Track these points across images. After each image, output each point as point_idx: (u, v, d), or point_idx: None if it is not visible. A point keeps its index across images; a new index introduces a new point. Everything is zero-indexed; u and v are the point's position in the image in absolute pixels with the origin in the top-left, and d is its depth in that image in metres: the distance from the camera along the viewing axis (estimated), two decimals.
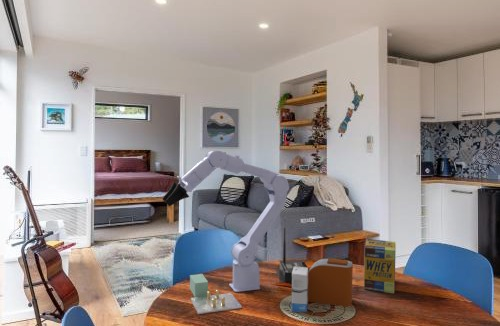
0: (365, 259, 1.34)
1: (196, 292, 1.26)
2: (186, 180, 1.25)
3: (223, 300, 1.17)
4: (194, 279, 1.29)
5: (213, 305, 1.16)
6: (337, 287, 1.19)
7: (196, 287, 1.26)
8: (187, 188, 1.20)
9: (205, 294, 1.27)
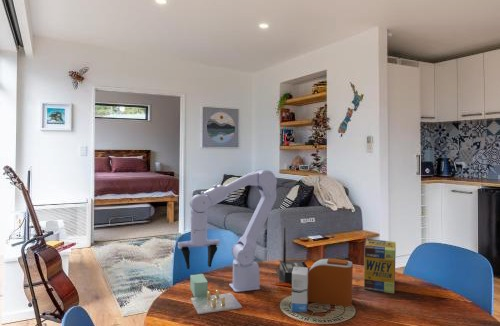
0: (365, 259, 1.34)
1: (196, 292, 1.26)
2: None
3: (223, 300, 1.17)
4: (194, 279, 1.29)
5: (213, 305, 1.16)
6: (337, 287, 1.19)
7: (196, 287, 1.26)
8: (178, 245, 1.28)
9: (205, 294, 1.27)
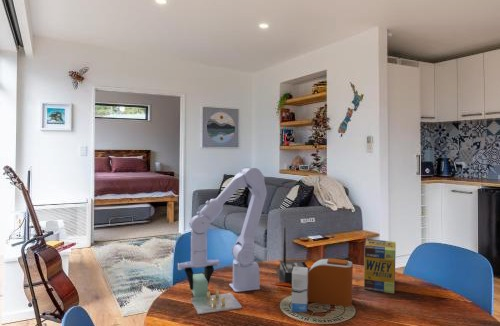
0: (365, 259, 1.34)
1: (196, 291, 1.26)
2: None
3: (223, 300, 1.17)
4: (194, 278, 1.29)
5: (213, 305, 1.16)
6: (337, 287, 1.19)
7: (196, 286, 1.26)
8: (178, 266, 1.28)
9: (205, 294, 1.27)
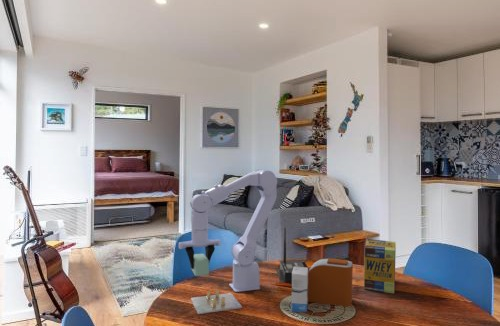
0: (365, 259, 1.34)
1: (197, 270, 1.25)
2: None
3: (223, 300, 1.17)
4: (195, 258, 1.29)
5: (213, 305, 1.16)
6: (337, 287, 1.19)
7: (197, 265, 1.25)
8: (179, 245, 1.27)
9: (206, 272, 1.26)
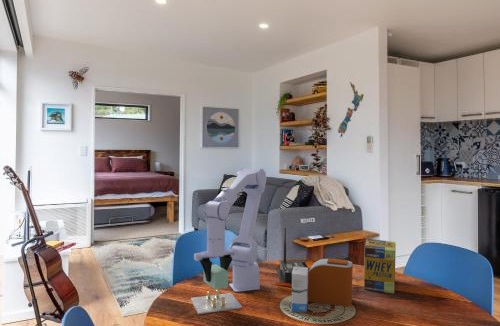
0: (365, 259, 1.34)
1: (216, 283, 1.16)
2: (207, 249, 1.20)
3: (223, 300, 1.17)
4: (211, 270, 1.19)
5: (213, 305, 1.16)
6: (337, 287, 1.19)
7: (216, 278, 1.15)
8: (194, 257, 1.16)
9: (225, 285, 1.17)
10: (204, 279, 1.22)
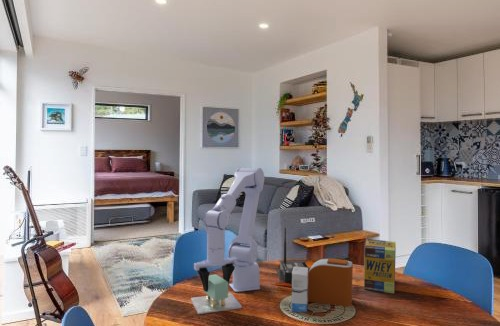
0: (365, 259, 1.34)
1: (216, 294, 1.16)
2: (207, 258, 1.20)
3: (223, 300, 1.17)
4: (211, 280, 1.19)
5: (213, 305, 1.16)
6: (337, 287, 1.19)
7: (216, 288, 1.16)
8: (194, 267, 1.16)
9: (225, 295, 1.17)
10: None
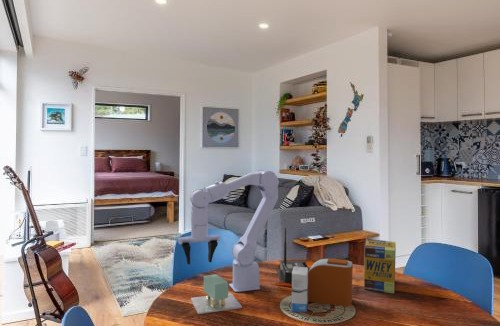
0: (365, 259, 1.34)
1: (216, 294, 1.16)
2: None
3: (223, 300, 1.17)
4: (211, 280, 1.19)
5: (213, 305, 1.16)
6: (337, 287, 1.19)
7: (216, 288, 1.16)
8: (178, 241, 1.28)
9: (225, 295, 1.17)
10: (204, 289, 1.22)
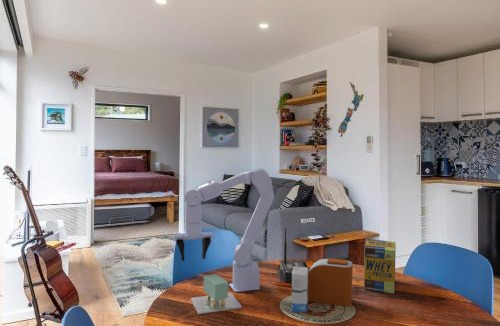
0: (365, 259, 1.34)
1: (216, 294, 1.16)
2: None
3: (223, 300, 1.17)
4: (211, 280, 1.19)
5: (213, 305, 1.16)
6: (337, 287, 1.19)
7: (216, 288, 1.16)
8: (173, 238, 1.32)
9: (225, 295, 1.17)
10: (204, 289, 1.22)
